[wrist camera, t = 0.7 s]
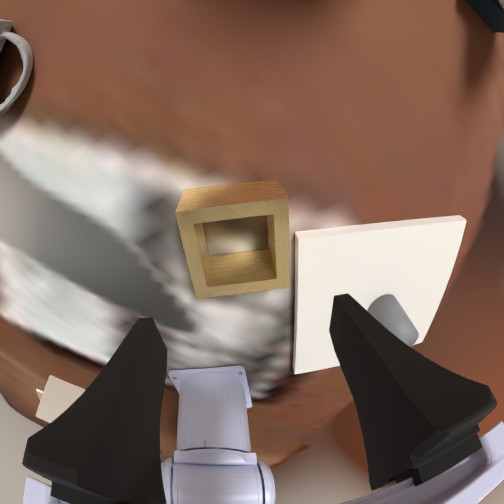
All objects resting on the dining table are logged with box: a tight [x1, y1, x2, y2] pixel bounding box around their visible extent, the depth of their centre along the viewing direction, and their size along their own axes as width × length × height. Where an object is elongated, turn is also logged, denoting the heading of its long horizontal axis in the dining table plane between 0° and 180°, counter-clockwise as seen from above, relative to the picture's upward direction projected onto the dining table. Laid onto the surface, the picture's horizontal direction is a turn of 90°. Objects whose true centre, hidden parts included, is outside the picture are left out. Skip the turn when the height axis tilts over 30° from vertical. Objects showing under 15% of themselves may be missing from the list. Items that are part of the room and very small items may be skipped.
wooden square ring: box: [175, 179, 290, 299], centre depth 17 cm, size 6×6×4 cm
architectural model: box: [36, 375, 85, 423], centre depth 25 cm, size 3×7×7 cm, turn 65°
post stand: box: [293, 215, 467, 374], centre depth 21 cm, size 16×16×6 cm
